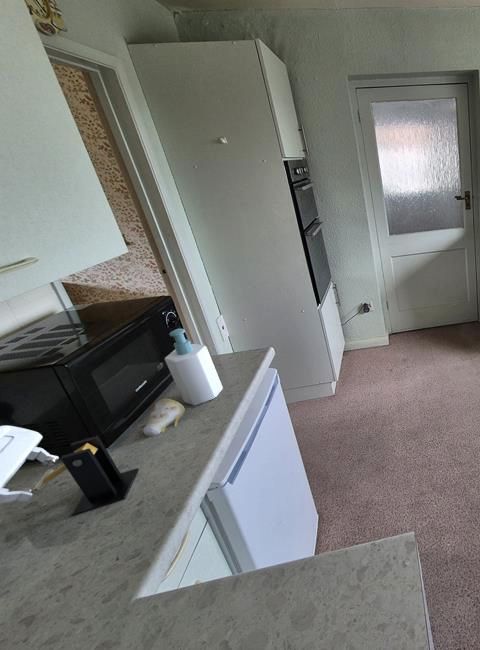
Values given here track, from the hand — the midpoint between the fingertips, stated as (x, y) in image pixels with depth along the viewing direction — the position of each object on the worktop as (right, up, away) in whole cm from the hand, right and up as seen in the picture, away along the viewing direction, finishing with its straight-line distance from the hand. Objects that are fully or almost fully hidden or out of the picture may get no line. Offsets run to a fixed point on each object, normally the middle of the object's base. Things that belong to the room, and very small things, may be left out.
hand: (44, 478), depth 78 cm
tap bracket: (+9, -6, +5) cm, 12 cm away
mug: (+6, +3, +25) cm, 26 cm away
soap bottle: (+8, +8, +38) cm, 40 cm away
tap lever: (+5, +2, +1) cm, 5 cm away
